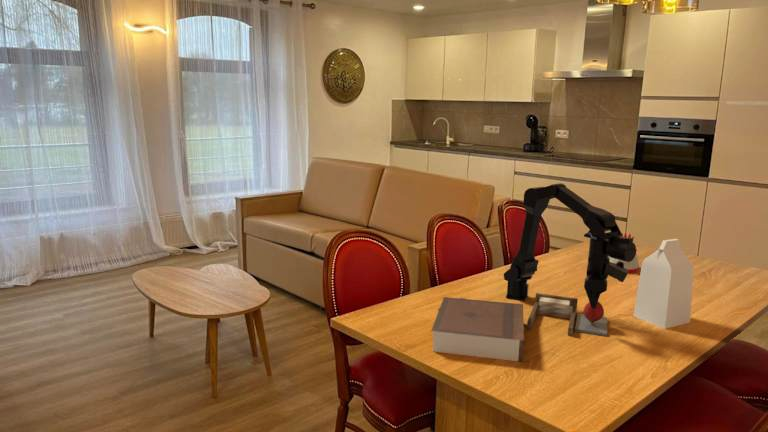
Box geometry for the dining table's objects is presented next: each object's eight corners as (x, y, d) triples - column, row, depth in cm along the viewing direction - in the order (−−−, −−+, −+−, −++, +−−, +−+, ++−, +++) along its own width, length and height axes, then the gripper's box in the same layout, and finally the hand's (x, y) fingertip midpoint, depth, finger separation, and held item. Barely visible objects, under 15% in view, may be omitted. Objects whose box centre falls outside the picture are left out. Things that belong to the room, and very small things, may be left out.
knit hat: (643, 273, 233) (648, 237, 230) (609, 273, 233) (613, 236, 230) (629, 264, 246) (633, 229, 243) (597, 263, 246) (600, 229, 243)
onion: (578, 317, 180) (583, 294, 178) (596, 318, 181) (601, 295, 178) (586, 326, 175) (591, 302, 172) (604, 327, 175) (609, 303, 173)
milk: (664, 328, 176) (675, 246, 171) (633, 316, 186) (642, 237, 181) (690, 322, 182) (700, 242, 177) (658, 310, 192) (667, 234, 187)
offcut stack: (536, 313, 186) (537, 300, 185) (537, 309, 190) (538, 296, 189) (571, 319, 182) (572, 305, 182) (572, 314, 186) (573, 301, 186)
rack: (526, 328, 174) (528, 313, 173) (535, 307, 192) (536, 292, 191) (571, 336, 169) (573, 319, 168) (576, 313, 188) (577, 298, 187)
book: (521, 324, 179) (523, 304, 178) (522, 363, 152) (523, 340, 151) (443, 316, 184) (443, 297, 183) (430, 353, 157) (431, 330, 156)
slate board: (574, 331, 173) (574, 328, 173) (577, 315, 186) (577, 313, 186) (606, 336, 170) (606, 333, 170) (607, 319, 183) (607, 317, 182)
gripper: (628, 265, 162) (622, 317, 165) (627, 249, 179) (622, 297, 182) (586, 260, 166) (581, 312, 169) (589, 245, 183) (584, 292, 186)
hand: (594, 303), depth 176 cm, fingers open, 9 cm apart
